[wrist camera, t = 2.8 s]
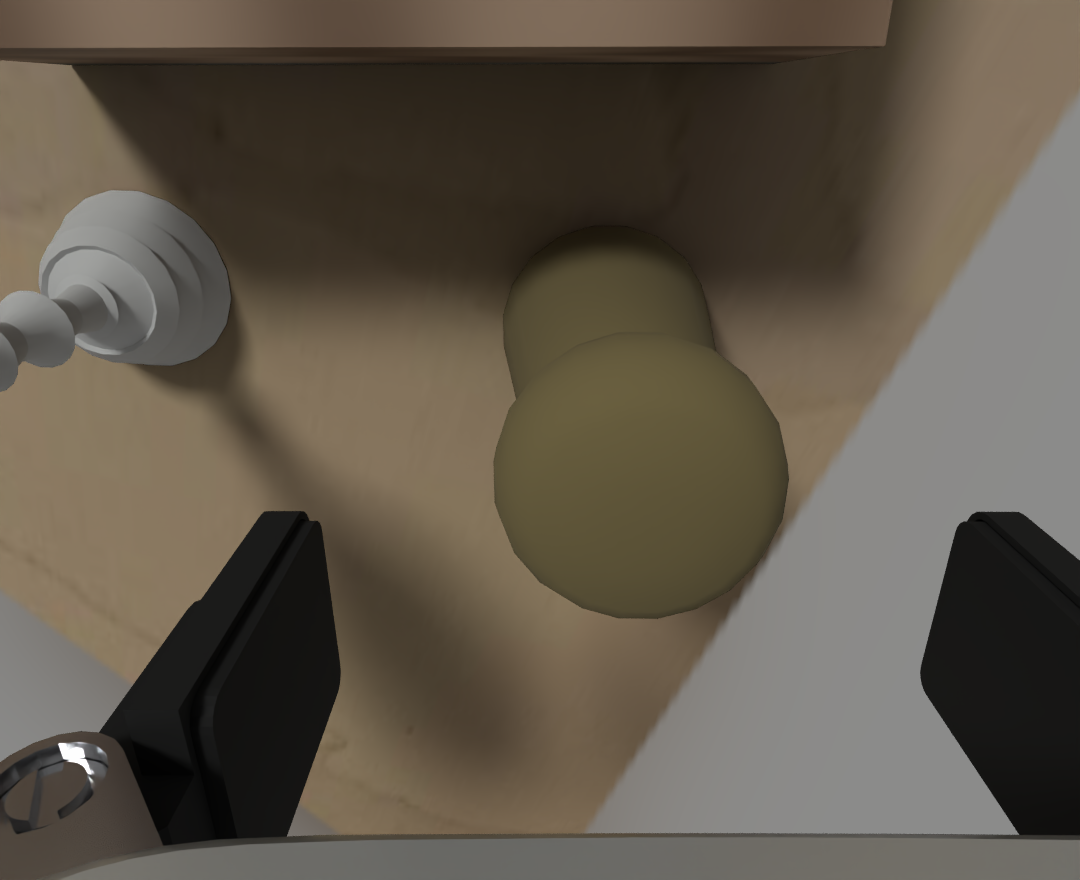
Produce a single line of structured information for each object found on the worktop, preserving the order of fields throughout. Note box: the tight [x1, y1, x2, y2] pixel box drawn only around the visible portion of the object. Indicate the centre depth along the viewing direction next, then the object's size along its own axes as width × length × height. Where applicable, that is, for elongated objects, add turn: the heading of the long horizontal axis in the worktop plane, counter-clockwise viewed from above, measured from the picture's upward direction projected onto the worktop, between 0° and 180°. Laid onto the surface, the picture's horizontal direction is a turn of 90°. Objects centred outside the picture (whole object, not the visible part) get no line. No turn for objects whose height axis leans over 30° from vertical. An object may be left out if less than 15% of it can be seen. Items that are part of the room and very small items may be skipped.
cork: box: [494, 226, 789, 619], centre depth 17 cm, size 6×6×11 cm
